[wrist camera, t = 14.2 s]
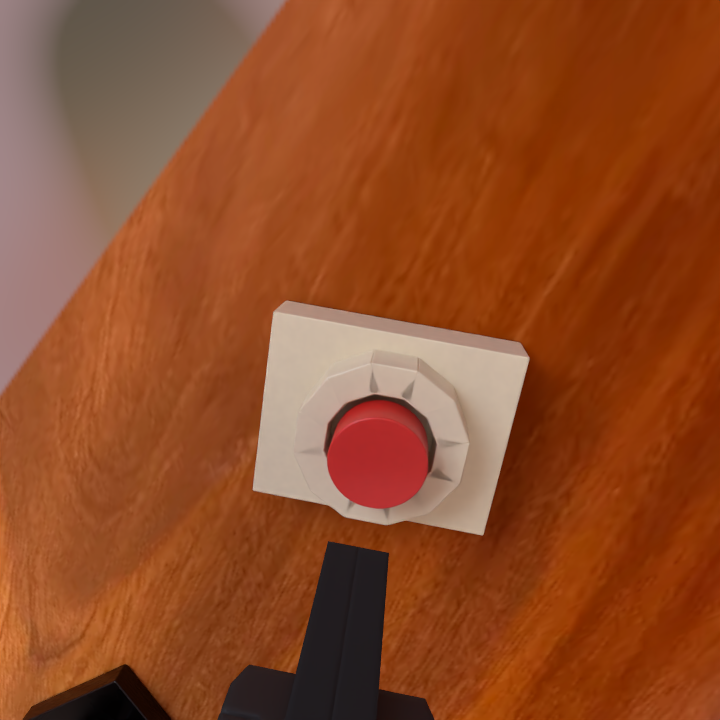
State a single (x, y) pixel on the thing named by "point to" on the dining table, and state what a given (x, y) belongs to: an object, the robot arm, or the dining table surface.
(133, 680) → the switch bracket
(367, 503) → the red button
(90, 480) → the dining table surface
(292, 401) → the button housing
